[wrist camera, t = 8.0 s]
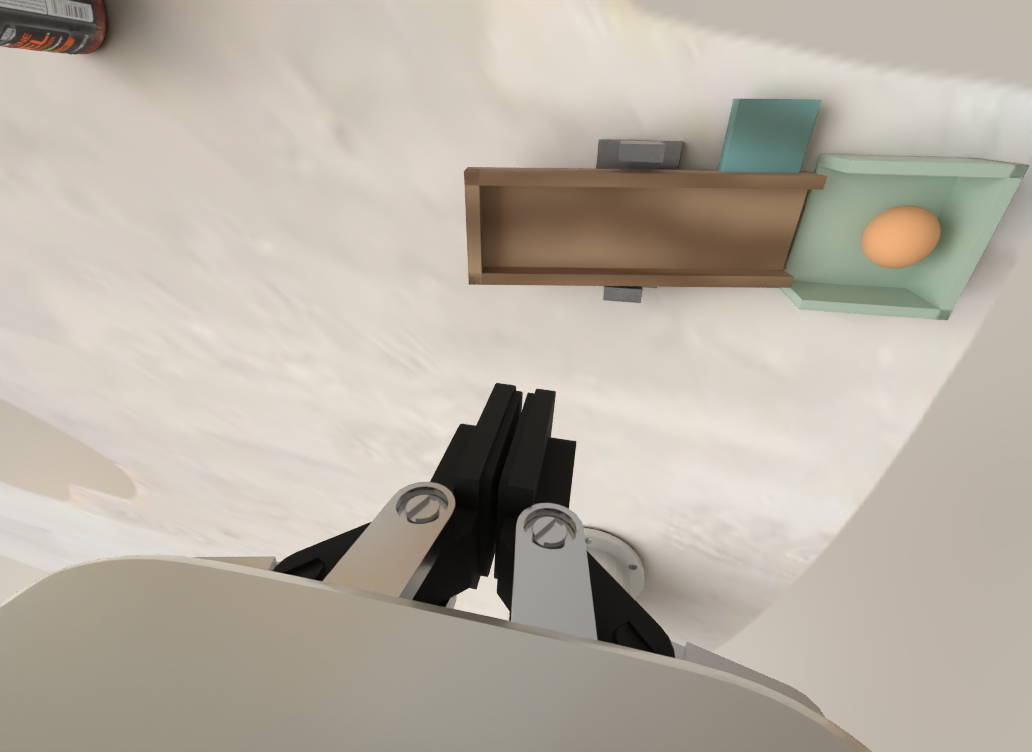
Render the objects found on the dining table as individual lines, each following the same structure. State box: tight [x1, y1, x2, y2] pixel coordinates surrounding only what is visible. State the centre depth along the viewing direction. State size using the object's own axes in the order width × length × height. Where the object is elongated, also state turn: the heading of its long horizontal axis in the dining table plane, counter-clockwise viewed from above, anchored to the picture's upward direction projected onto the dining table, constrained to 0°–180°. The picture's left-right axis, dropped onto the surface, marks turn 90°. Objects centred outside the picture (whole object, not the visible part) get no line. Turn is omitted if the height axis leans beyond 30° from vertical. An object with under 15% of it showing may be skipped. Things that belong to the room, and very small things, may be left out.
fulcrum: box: [596, 140, 682, 303], centre depth 29 cm, size 9×5×4 cm, turn 179°
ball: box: [862, 205, 940, 268], centre depth 26 cm, size 4×4×4 cm
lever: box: [464, 99, 827, 288], centre depth 27 cm, size 10×20×2 cm, turn 89°
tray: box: [780, 154, 1029, 320], centre depth 27 cm, size 8×8×4 cm
